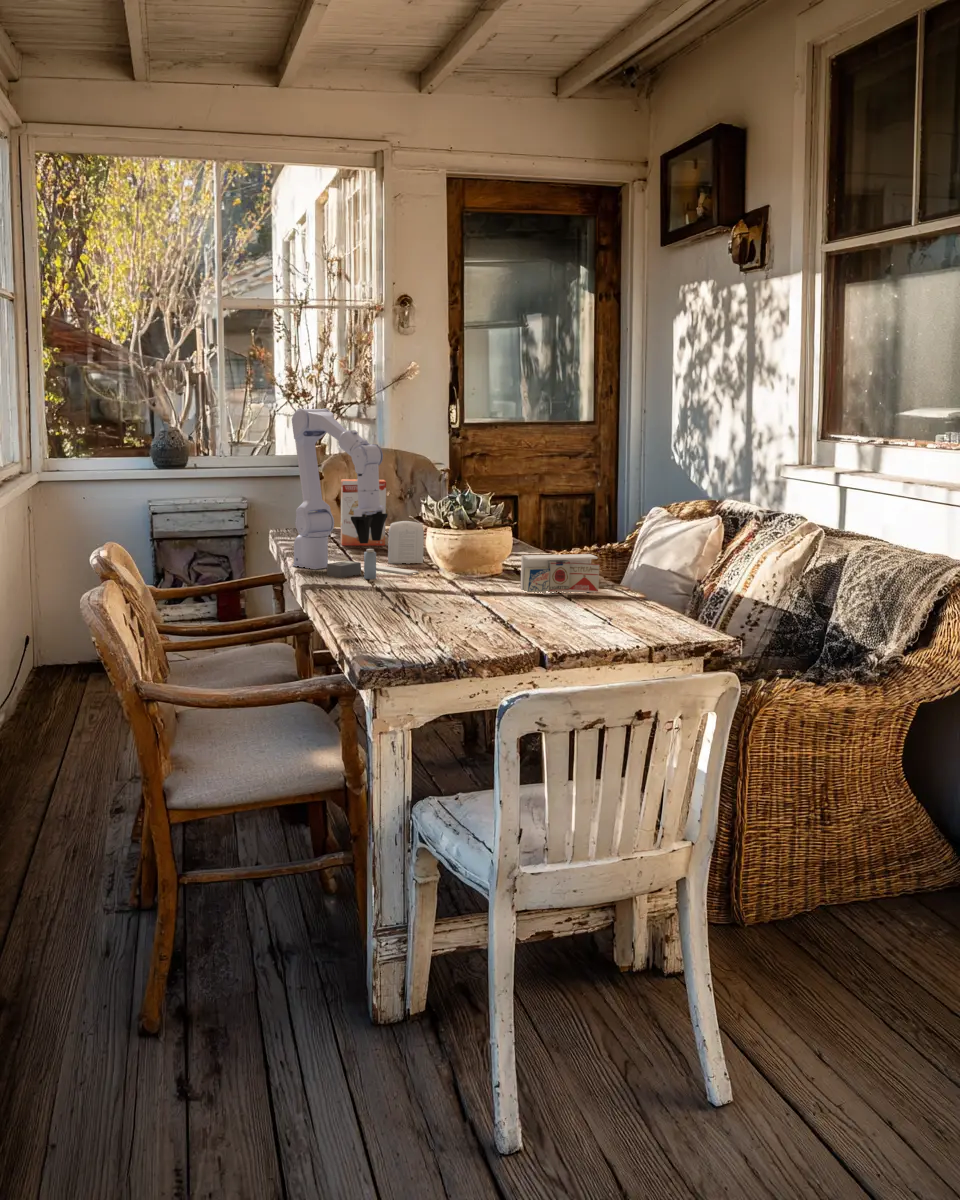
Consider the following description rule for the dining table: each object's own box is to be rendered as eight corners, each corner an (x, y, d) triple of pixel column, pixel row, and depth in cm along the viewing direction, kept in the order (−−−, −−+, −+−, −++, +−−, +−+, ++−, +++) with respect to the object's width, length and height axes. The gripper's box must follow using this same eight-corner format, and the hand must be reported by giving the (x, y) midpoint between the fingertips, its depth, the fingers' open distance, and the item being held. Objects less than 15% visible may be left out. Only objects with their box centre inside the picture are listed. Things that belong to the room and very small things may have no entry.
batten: (365, 568, 331) (365, 566, 331) (375, 566, 334) (375, 564, 334) (409, 575, 321) (409, 573, 321) (418, 573, 324) (418, 571, 324)
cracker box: (342, 546, 372) (342, 480, 368) (340, 543, 378) (340, 478, 374) (386, 546, 375) (386, 480, 371) (383, 543, 380) (384, 478, 377)
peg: (361, 578, 315) (361, 549, 313) (369, 576, 317) (369, 548, 316) (370, 579, 313) (370, 550, 312) (378, 578, 316) (378, 549, 314)
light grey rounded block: (422, 562, 344) (423, 520, 342) (424, 564, 340) (424, 522, 338) (387, 562, 343) (387, 520, 340) (388, 564, 339) (388, 522, 336)
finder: (327, 576, 318) (327, 563, 317) (347, 573, 324) (347, 560, 323) (340, 578, 315) (340, 565, 314) (360, 575, 321) (360, 562, 321)
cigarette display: (527, 595, 296) (528, 558, 295) (520, 591, 302) (521, 555, 300) (601, 593, 302) (602, 557, 300) (593, 589, 307) (594, 553, 305)
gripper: (370, 492, 302) (372, 544, 304) (393, 489, 316) (395, 539, 318) (345, 492, 305) (347, 544, 307) (369, 489, 318) (371, 539, 320)
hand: (370, 541), depth 312 cm, fingers open, 7 cm apart
